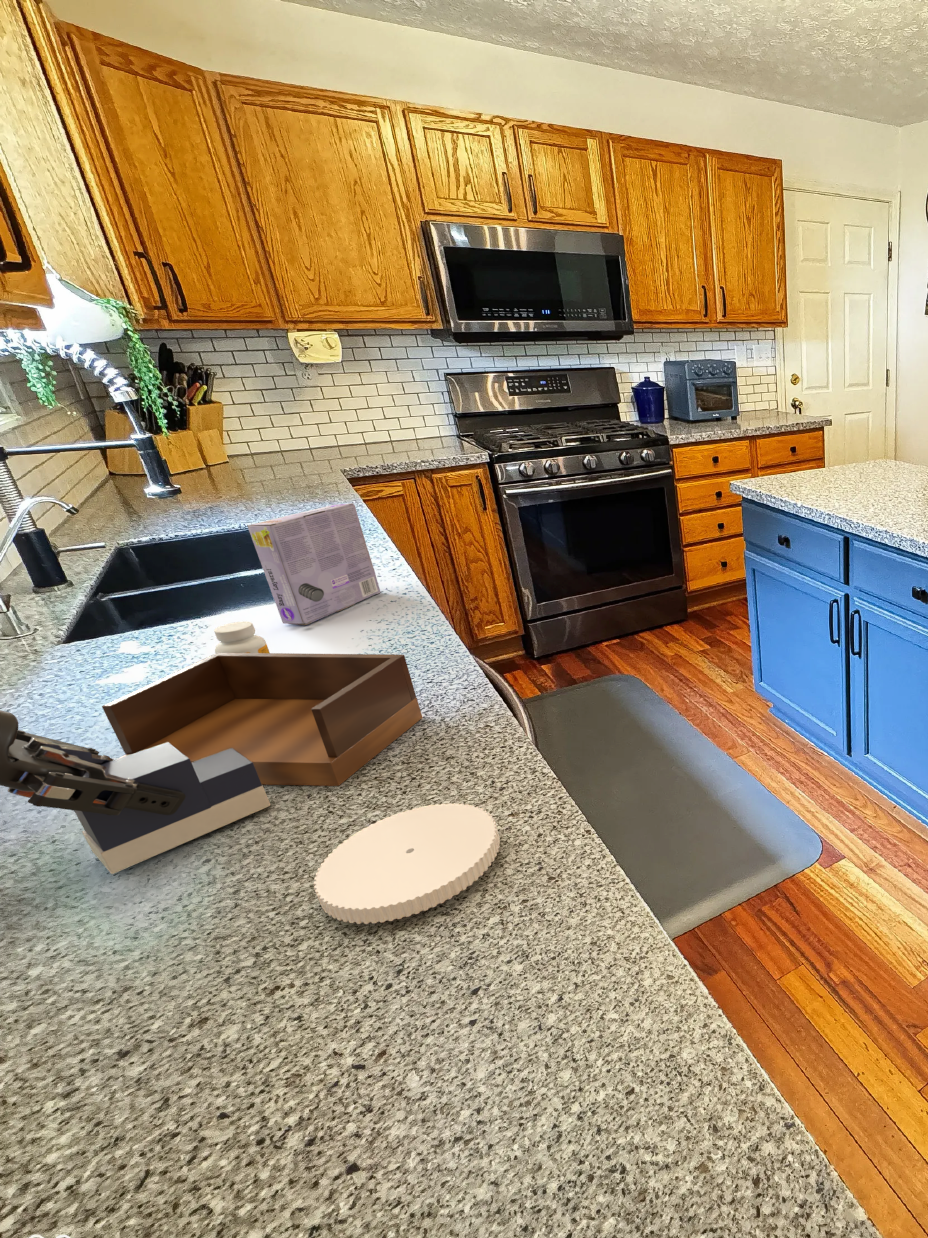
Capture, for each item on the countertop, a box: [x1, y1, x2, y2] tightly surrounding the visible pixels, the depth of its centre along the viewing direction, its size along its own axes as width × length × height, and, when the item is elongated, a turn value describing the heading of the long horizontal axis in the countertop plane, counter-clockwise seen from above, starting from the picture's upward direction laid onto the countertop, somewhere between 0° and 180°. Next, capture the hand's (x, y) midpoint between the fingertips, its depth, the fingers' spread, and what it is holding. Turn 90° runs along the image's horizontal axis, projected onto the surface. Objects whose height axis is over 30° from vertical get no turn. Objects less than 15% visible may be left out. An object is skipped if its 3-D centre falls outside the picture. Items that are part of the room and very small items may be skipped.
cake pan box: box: [247, 502, 381, 626], centre depth 124 cm, size 19×5×18 cm, turn 174°
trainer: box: [73, 742, 271, 875], centre depth 67 cm, size 12×6×8 cm, turn 148°
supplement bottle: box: [213, 620, 270, 654], centre depth 95 cm, size 5×5×10 cm
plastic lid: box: [313, 802, 501, 925], centre depth 62 cm, size 14×14×2 cm
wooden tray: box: [101, 652, 423, 787], centre depth 81 cm, size 24×15×9 cm, turn 88°
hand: (166, 792), depth 66 cm, fingers closed on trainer, 5 cm apart
